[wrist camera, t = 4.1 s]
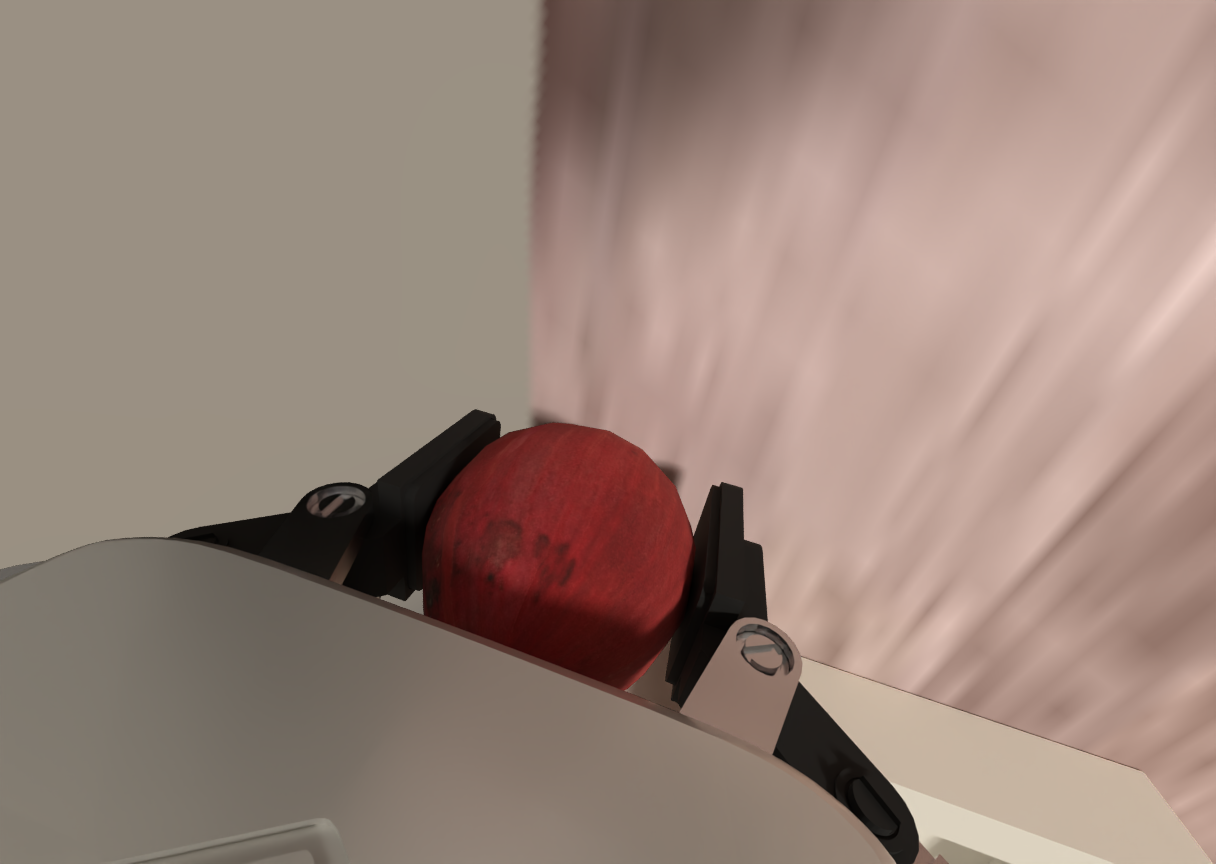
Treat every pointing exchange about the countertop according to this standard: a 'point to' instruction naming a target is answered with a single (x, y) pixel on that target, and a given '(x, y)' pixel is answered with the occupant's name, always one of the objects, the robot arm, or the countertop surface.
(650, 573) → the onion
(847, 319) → the countertop surface
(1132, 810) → the dish
